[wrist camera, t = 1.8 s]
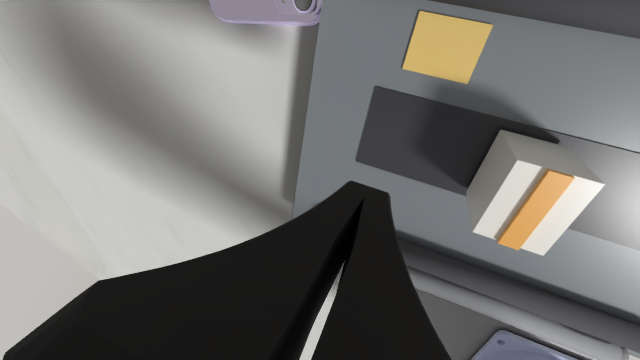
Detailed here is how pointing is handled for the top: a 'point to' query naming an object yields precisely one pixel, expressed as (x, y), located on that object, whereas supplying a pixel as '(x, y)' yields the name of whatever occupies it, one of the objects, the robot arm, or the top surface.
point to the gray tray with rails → (509, 295)
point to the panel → (478, 132)
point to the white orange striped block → (529, 192)
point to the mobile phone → (268, 11)
